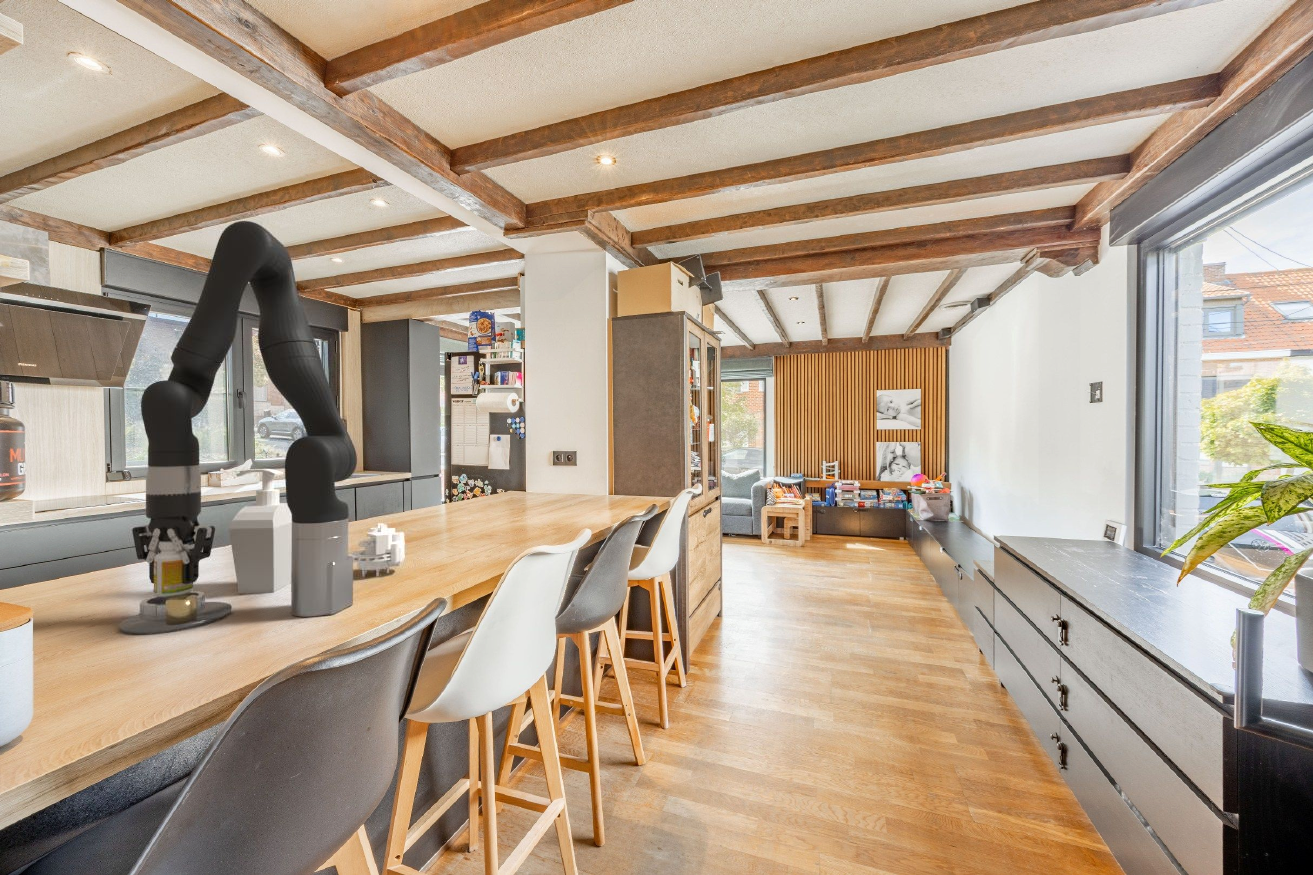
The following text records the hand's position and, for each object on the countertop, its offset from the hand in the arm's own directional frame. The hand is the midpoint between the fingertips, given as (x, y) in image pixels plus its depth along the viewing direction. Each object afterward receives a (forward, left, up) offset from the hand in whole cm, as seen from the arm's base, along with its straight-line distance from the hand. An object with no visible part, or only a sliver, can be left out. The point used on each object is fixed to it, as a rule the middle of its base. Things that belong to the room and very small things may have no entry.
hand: (173, 582), depth 98 cm
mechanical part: (-20, -31, -6) cm, 38 cm away
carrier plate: (-2, +2, -6) cm, 7 cm away
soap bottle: (-2, -18, -6) cm, 20 cm away
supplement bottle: (0, 0, -2) cm, 2 cm away
